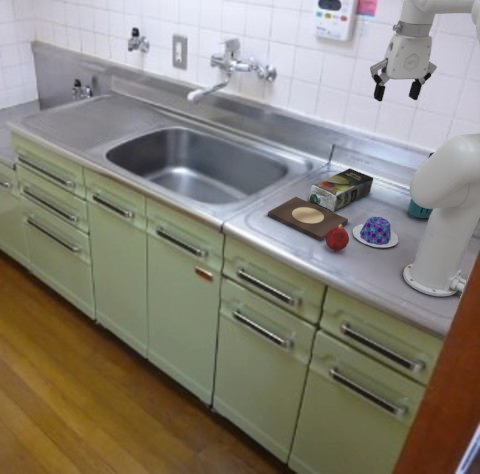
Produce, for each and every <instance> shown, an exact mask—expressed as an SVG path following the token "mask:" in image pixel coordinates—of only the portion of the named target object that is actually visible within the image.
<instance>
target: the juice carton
mask: <svg viewBox="0 0 480 474" xmlns="http://www.w3.org/2000/svg"><path fill="white" fill-rule="evenodd" d="M373 182H374V177H373V176H371V175H368V174H365V173H362V172H360V171H358V170H355V169H353V168H350V167H349V168H347V169H345V170H344V171H339V172H338V173H336V174H334V175H332V176H330V177H327V178H325V179H323V180H321V181H318V182H316V183H313V184H312V185H311V190H310V191H311V192H310V194H309V202H314V203H316V204H318V206H319V207H322V208H324V209H326V210H328V211H331V212H333V213H335V212H336V211H338V210H340V209H342V208H344V207H345V206H347V205H348V204H351V203H353V202H356V201H357V200H360V199H362V198H364V197H366V196H368V195H370V193H371V190H372V187H373Z"/></svg>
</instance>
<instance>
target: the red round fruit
mask: <svg viewBox="0 0 480 474" xmlns="http://www.w3.org/2000/svg"><path fill="white" fill-rule="evenodd" d="M349 243H350V236H349V233H348V231H347V230H346V229H345V228H344V226H343V225H341V224H340V225H339V226H338V227H335V228H333V229H331V230H330V231H329V232H328V233H327V235H326V238H325V244H326V245H327V247H328V249H330V250H332V251H333V252H339V251H342V250H344V249H345V248H346V247H347V246H348V245H349Z"/></svg>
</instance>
